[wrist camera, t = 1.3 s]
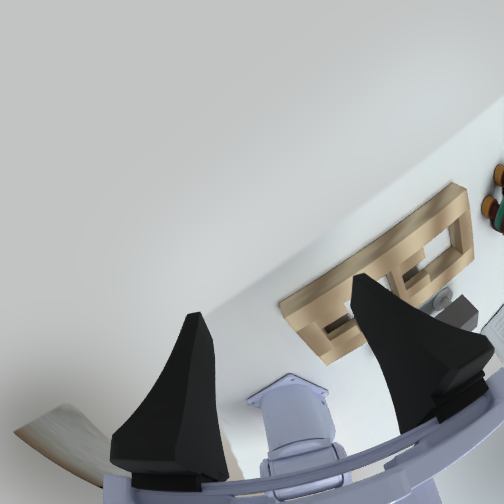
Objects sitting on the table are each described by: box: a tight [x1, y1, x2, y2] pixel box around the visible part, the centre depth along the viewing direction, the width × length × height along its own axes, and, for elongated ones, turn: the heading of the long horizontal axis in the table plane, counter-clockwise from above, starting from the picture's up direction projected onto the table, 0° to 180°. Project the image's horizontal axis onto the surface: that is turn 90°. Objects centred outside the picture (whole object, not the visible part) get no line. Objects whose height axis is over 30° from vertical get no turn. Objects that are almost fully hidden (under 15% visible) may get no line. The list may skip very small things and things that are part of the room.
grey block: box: [433, 288, 479, 332], centre depth 27 cm, size 13×4×7 cm, turn 124°
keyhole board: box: [279, 182, 474, 366], centre depth 25 cm, size 22×10×2 cm, turn 124°
